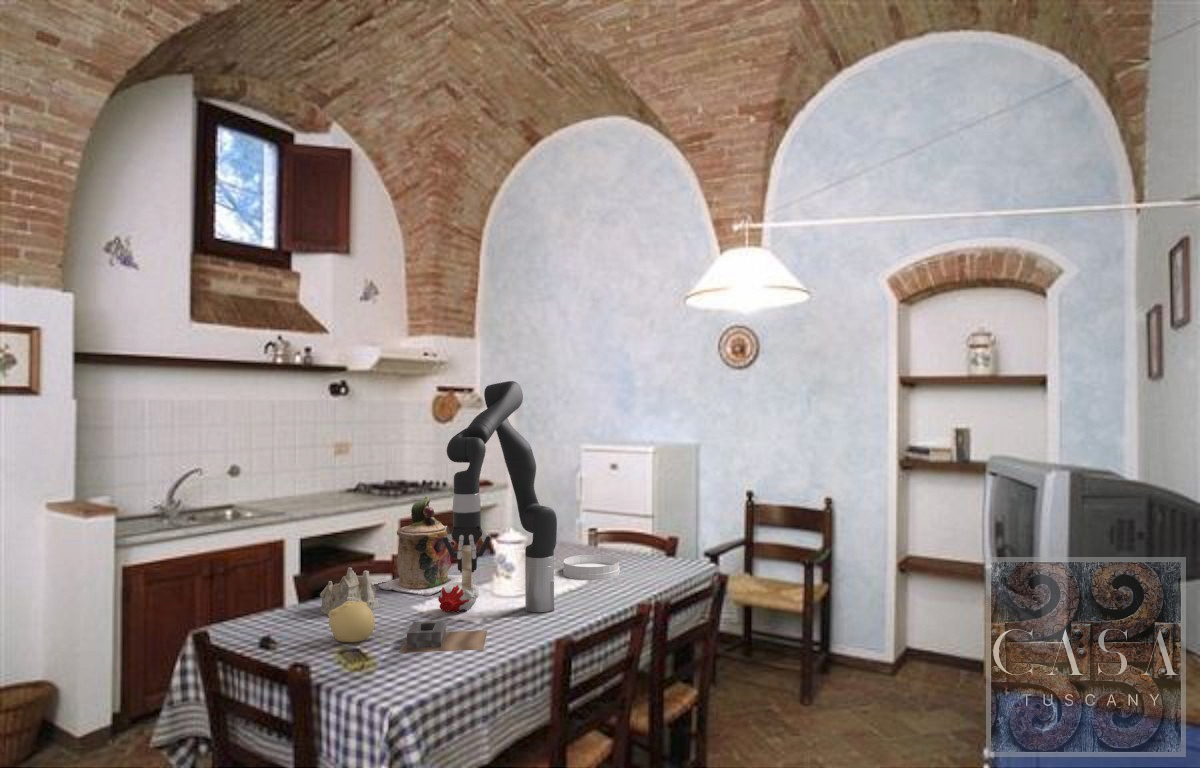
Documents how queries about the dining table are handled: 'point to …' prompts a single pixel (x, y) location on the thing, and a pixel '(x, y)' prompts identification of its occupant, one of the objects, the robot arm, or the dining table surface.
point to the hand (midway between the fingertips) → (467, 571)
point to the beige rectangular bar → (467, 568)
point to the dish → (591, 567)
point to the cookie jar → (422, 554)
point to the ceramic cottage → (349, 592)
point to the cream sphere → (351, 621)
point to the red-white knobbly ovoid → (457, 597)
